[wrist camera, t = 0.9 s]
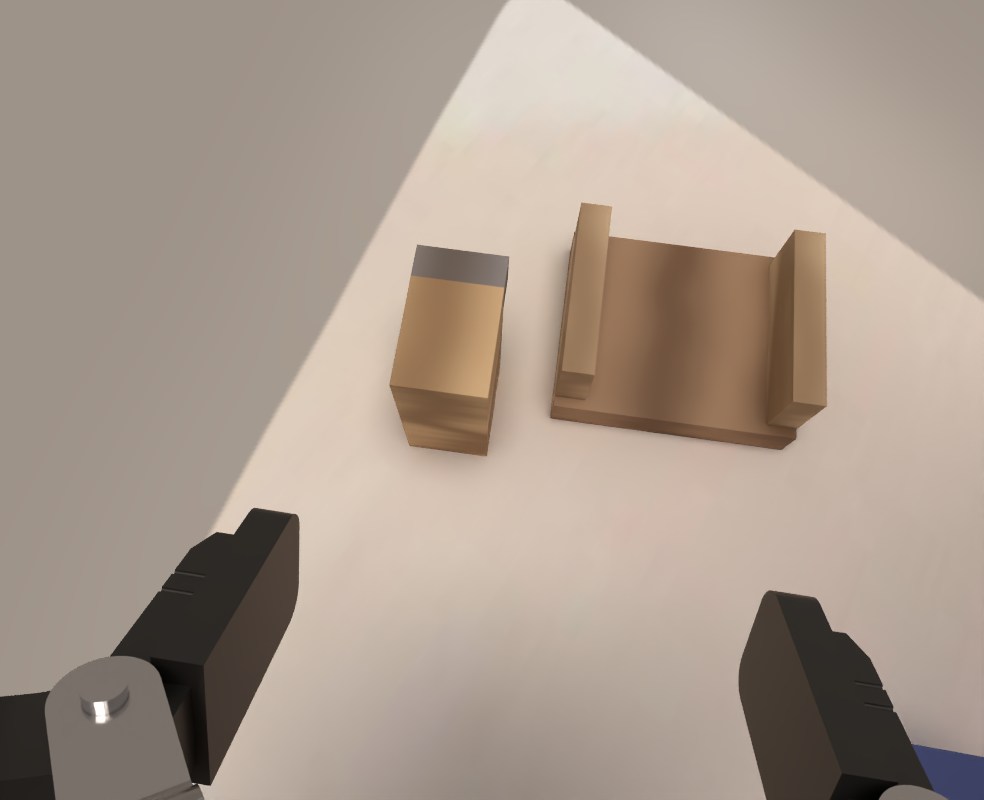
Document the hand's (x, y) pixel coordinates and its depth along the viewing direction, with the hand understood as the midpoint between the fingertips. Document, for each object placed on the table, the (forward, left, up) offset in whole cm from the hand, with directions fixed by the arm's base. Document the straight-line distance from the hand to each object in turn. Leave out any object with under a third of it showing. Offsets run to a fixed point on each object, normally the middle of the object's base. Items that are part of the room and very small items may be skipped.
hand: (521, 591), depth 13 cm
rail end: (+4, -11, -24) cm, 27 cm away
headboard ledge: (-7, -16, -24) cm, 30 cm away
